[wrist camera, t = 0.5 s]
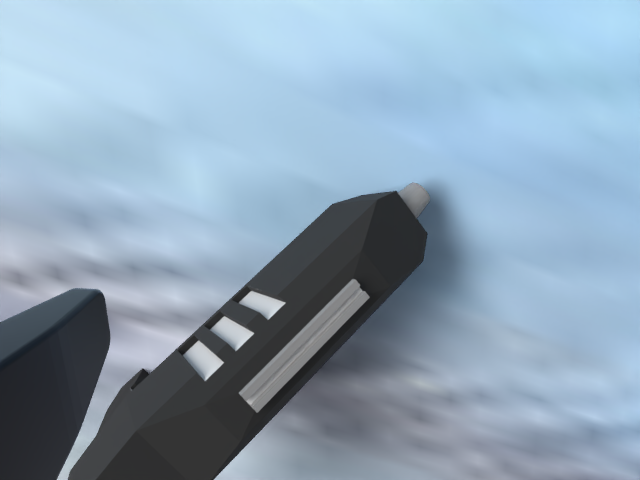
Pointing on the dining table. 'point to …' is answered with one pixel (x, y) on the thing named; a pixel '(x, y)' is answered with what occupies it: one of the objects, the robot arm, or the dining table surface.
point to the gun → (260, 345)
